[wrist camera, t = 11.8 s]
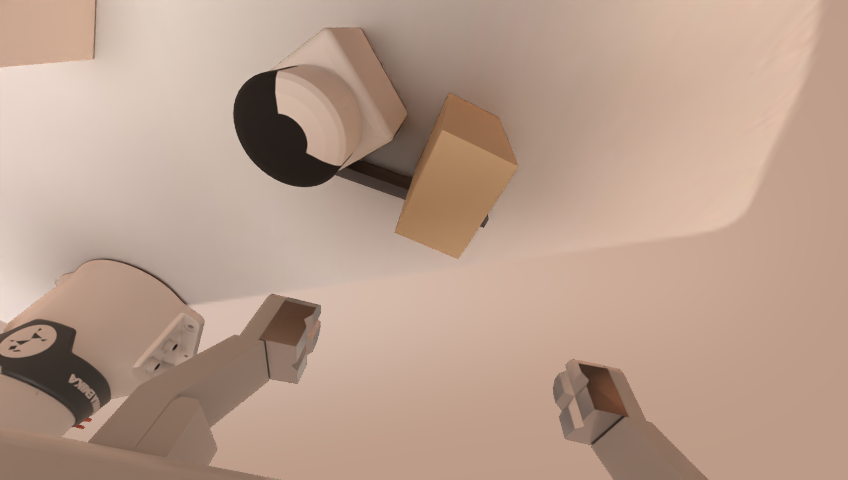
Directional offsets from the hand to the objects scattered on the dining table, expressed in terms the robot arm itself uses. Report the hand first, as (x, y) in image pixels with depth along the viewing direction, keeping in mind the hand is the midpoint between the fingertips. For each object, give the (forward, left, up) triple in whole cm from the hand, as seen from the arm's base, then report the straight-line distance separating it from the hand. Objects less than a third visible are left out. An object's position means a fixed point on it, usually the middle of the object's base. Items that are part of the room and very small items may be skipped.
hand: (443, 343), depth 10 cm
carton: (0, 0, -21) cm, 21 cm away
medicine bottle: (+1, +9, -21) cm, 23 cm away
